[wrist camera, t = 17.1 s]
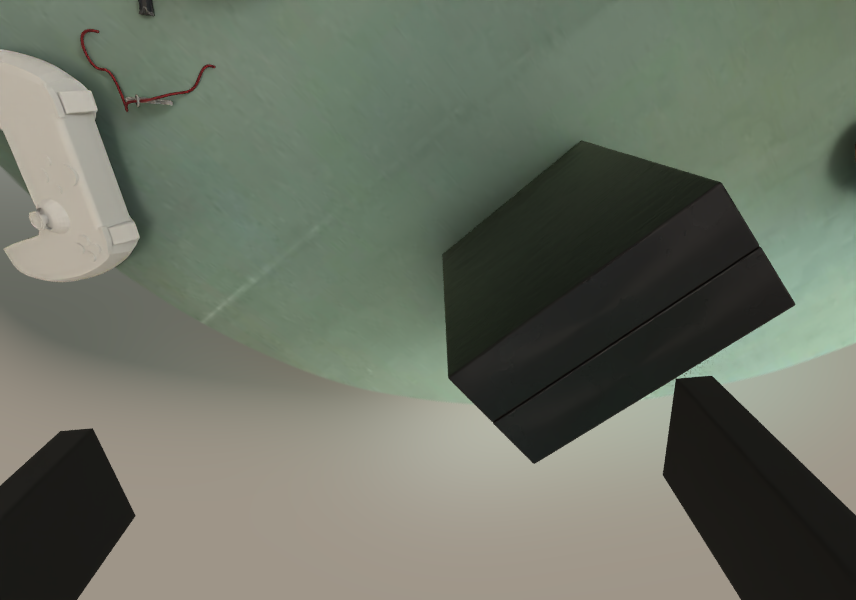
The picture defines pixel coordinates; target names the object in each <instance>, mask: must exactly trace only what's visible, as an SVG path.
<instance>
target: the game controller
mask: <svg viewBox="0 0 856 600" xmlns="http://www.w3.org/2000/svg"><path fill="white" fill-rule="evenodd" d="M97 111H98V109H97V106H96V103H95V100H94V97H93V94H92V92H91V91H90V90H87V88H86V87H85V86H84V85H83V84H81V83H80V82H79V81H78V80H76V79H75V78H73V77H72V76H70V75H69V74H67V73H66V72H64V71H63V70H61V69H59V68H58V67H56V66H54V65H52V64H50V63H48V62H46V61H43V60H41V59H38V58H35V57H32V56H29V55H25V54H21V53H17V52H13V51H8V50H3V49H0V129H1V130H3V132H4V134H5V136H6V139H7V141H8V143H9V146H10V148H11V150H12V153H13V155H14V157H15V160H16V162H17V164H18V167H19V169H20V171H21V174H22V176H23V178H24V181H25V183H26V186H27V188H28V190H29V193H30V195H31V197H32V200H33V202H34V204H35V207H36V212H35V211H34V212H30V214H29V219H30V222H31V223H32V225H33V226H34V227H35V228H36V229H38V230H39V233H38V235H37V236H34V237H31V238H28V239H25V240H22V241H20V242H17V243H15V244H12V245H10V246H8V247H6V248H4V251H5V252H6V254H7V255H8V257H9V259H10V260H11V262H12V264H13V265H14V266H15V268H17V269H18V270H19V271H20V272H22V273H23V274H25V275H27V276H30V277H33V278H37V279H42V280H46V281H52V282H70V281H77V280H81V279H86V278H91V277H94V276H97V275H100V274H103V273H105V272H107V271H109V270H111V269H113V268H114V267H116V266H117V265H118V264H120V263H121V262H122V261H124V260H125V259H126V258H127V257H128V256H129V255H130V254H131V252H132V250H133V249H134V247H135V246H136V245H137V241H138V239H139V238H140V236H139V233H138V230H137V227H136V224H135V222H134V221H133V220H132V218H131V217H130V216H129V213H128V211H127V208H126V205H125V202H124V199H123V197H122V194H121V191H120V188H119V186H118V183H117V180H116V177H115V175H114V172H113V169H112V166H111V164H110V161H109V158H108V155H107V153H106V150H105V147H104V144H103V141H102V139H101V136H100V133H99V130H98V128H97V125H96V122H95V118H96V112H97Z"/></svg>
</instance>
